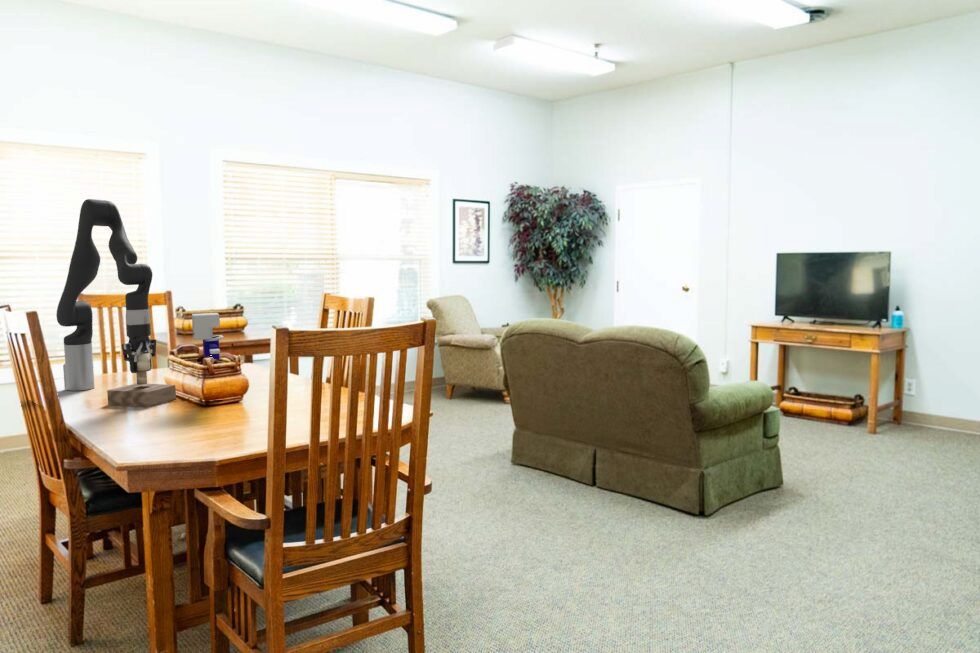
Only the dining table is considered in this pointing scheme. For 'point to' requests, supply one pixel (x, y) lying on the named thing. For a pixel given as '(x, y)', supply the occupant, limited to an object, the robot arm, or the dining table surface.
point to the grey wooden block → (141, 395)
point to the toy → (207, 332)
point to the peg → (142, 367)
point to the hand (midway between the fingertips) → (141, 371)
